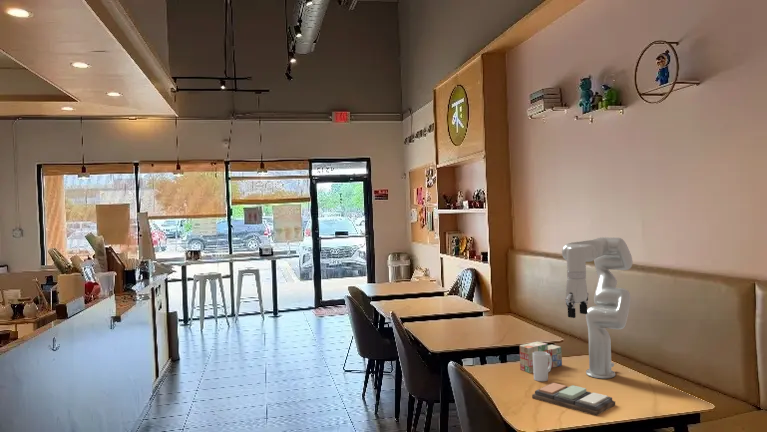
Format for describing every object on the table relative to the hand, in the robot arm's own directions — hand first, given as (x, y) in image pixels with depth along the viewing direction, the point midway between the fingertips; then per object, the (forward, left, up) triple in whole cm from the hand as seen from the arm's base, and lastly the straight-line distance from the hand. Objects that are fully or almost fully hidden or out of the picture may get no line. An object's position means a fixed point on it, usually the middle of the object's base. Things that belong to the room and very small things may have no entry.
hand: (577, 315), depth 234 cm
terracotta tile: (+13, -5, -30) cm, 33 cm away
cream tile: (+13, +13, -30) cm, 35 cm away
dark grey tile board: (+13, +4, -32) cm, 35 cm away
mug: (-4, -20, -32) cm, 38 cm away
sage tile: (+13, +4, -29) cm, 32 cm away
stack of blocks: (-18, -30, -33) cm, 48 cm away
